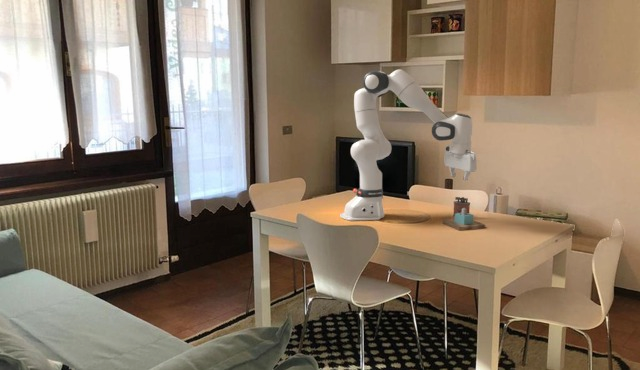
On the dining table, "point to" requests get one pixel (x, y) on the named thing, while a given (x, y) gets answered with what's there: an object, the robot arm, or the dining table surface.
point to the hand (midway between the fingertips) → (459, 178)
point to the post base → (460, 226)
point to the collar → (463, 218)
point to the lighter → (461, 205)
